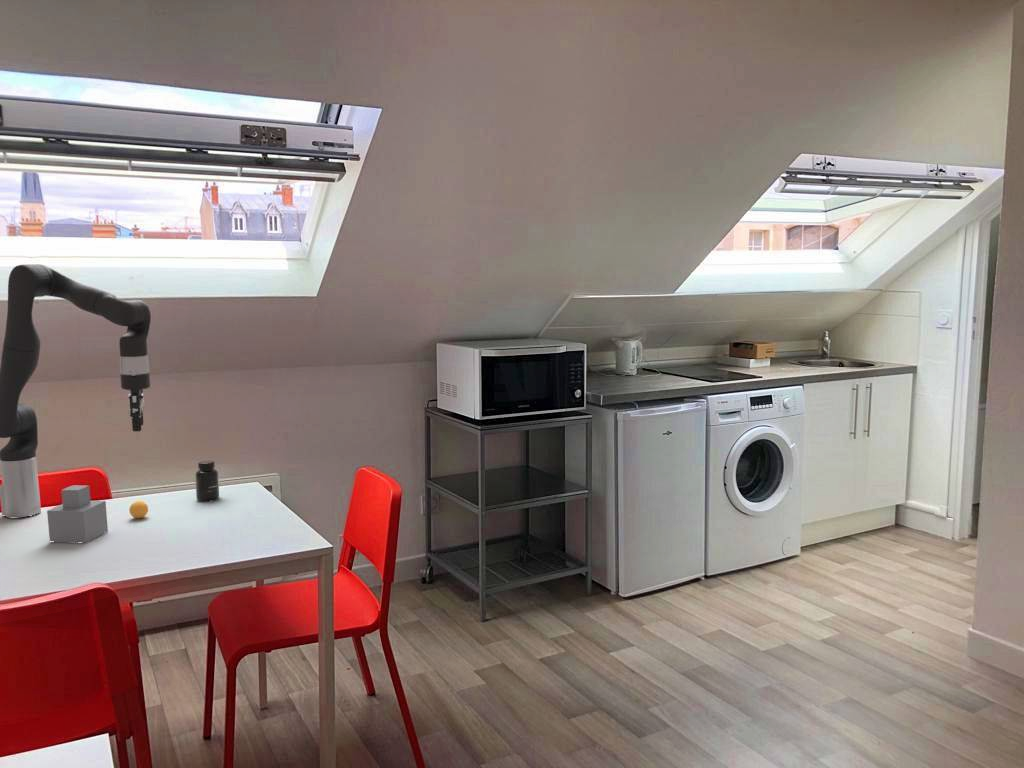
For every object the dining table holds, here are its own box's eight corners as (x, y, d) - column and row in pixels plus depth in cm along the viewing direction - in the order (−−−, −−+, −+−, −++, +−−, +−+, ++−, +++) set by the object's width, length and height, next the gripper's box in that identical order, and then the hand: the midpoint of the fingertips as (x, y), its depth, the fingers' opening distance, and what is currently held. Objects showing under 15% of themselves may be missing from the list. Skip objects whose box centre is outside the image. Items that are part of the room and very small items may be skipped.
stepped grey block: (49, 542, 225) (45, 492, 223) (73, 530, 235) (69, 482, 233) (85, 543, 224) (81, 493, 222) (107, 531, 234) (104, 483, 232)
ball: (126, 520, 244) (125, 503, 243) (135, 515, 249) (134, 498, 248) (142, 520, 243) (141, 503, 243) (152, 515, 248) (150, 499, 248)
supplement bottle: (214, 502, 262) (212, 464, 261) (193, 502, 262) (190, 464, 261) (222, 496, 269) (220, 459, 267) (201, 496, 269) (199, 459, 268)
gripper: (122, 369, 242) (125, 424, 244) (117, 375, 229) (121, 434, 231) (150, 368, 244) (153, 423, 247) (147, 374, 231) (151, 432, 233)
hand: (138, 428), depth 239 cm, fingers open, 8 cm apart
